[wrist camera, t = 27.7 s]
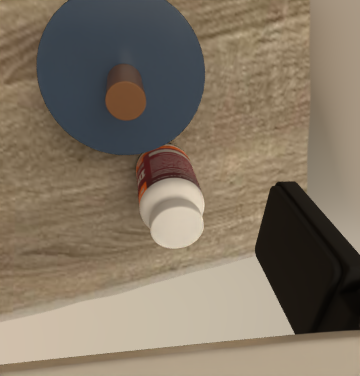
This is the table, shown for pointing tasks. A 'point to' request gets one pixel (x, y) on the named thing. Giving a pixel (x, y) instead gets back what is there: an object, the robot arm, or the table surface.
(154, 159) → the pill bottle
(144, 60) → the lid
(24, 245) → the table surface
